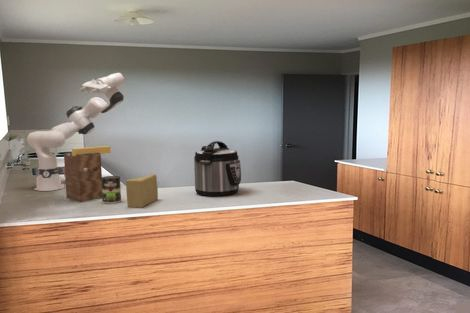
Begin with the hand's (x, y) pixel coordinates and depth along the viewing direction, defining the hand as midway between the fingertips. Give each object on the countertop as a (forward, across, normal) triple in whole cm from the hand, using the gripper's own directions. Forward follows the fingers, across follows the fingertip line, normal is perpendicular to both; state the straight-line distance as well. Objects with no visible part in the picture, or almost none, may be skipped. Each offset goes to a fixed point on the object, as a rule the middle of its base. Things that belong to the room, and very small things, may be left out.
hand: (85, 91), depth 275 cm
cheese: (+22, -67, -49) cm, 86 cm away
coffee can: (+30, -47, -50) cm, 75 cm away
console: (+33, -25, -52) cm, 67 cm away
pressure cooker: (-21, -82, -62) cm, 105 cm away
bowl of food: (+5, +34, -73) cm, 81 cm away
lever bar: (+21, -25, -28) cm, 43 cm away
